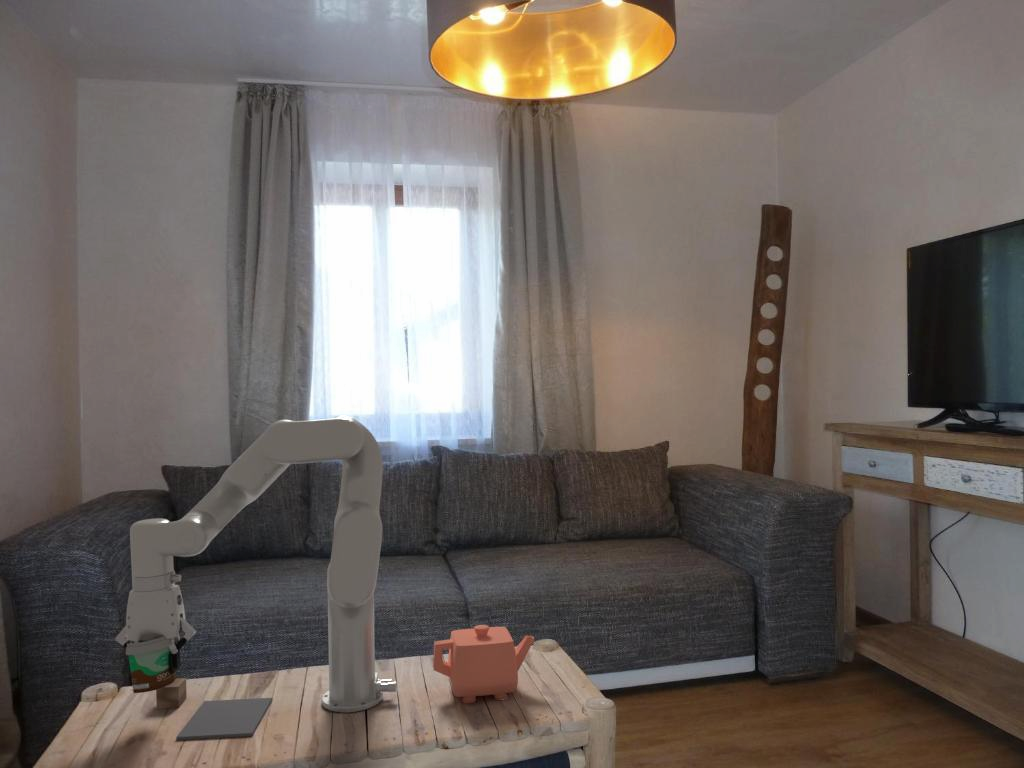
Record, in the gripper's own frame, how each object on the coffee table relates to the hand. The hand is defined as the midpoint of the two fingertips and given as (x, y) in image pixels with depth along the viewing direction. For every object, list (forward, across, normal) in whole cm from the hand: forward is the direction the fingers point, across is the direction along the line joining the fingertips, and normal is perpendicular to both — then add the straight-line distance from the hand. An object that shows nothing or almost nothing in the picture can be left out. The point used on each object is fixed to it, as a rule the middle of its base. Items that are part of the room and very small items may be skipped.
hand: (157, 671), depth 148 cm
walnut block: (+10, +1, -9) cm, 14 cm away
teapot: (+12, -65, -7) cm, 66 cm away
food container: (+3, -1, 0) cm, 3 cm away
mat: (+10, -13, 0) cm, 17 cm away
